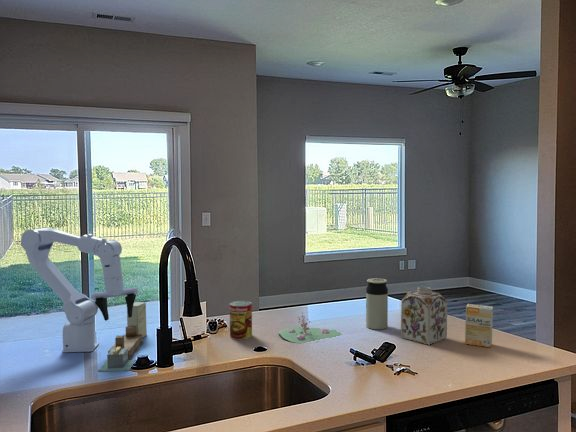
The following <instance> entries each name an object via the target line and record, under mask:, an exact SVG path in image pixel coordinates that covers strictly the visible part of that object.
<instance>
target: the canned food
mask: <svg viewBox="0 0 576 432" xmlns="http://www.w3.org/2000/svg"><path fill="white" fill-rule="evenodd" d="M252 308H253V302H251V301H249V300H236V301H231V302H229V338H230V339H231V340H249V339H250V338H253V309H252Z"/></svg>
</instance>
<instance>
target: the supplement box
mask: <svg viewBox="0 0 576 432" xmlns="http://www.w3.org/2000/svg"><path fill="white" fill-rule="evenodd" d="M493 316H494V306H490V305H480V304H472V303H467V304H466V307H465V333H464V334H465V335H464V337H465V338H464V344H465V345H467V344H469V346H475V345H477V346H476V347H483V346H484V348H489V347H490V348H492V345H493V323H494V321H493V320H494V317H493Z"/></svg>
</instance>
